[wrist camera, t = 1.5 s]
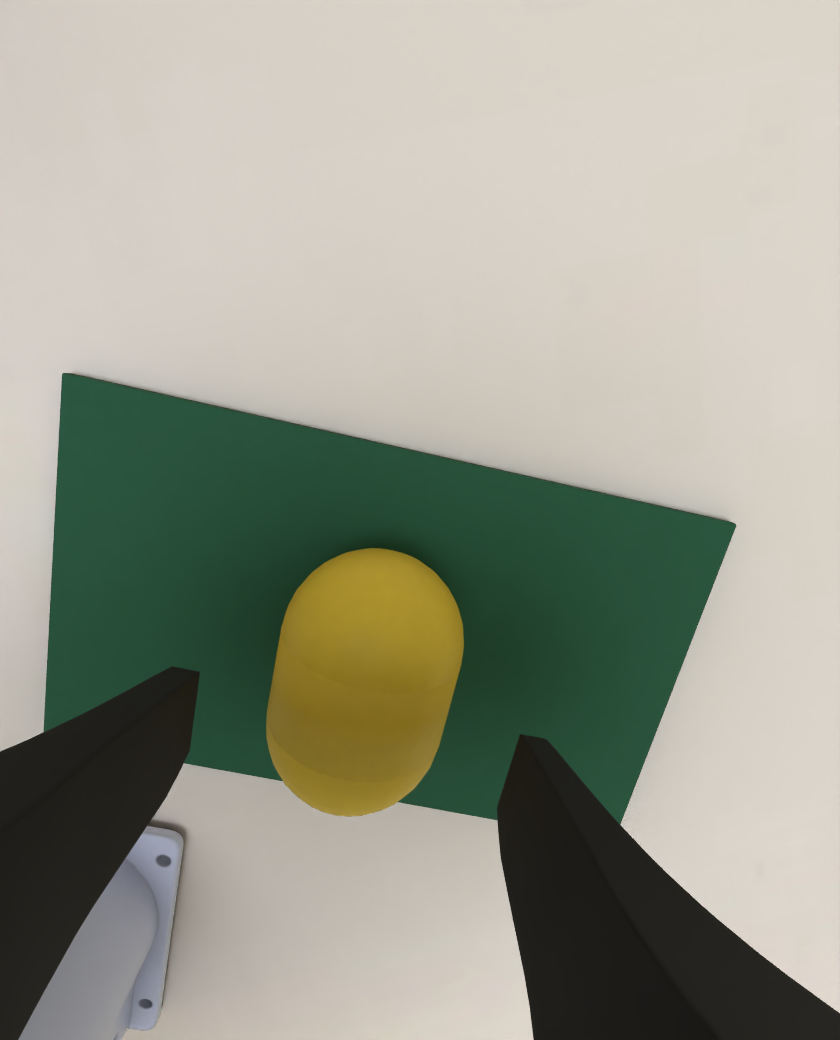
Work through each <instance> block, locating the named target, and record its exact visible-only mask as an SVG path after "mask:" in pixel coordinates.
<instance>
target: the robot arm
mask: <svg viewBox="0 0 840 1040" xmlns="http://www.w3.org/2000/svg"><path fill="white" fill-rule="evenodd" d="M199 677H200V672H199V671H194V670H189V669H184V668H178V667H173V666H172V667H170V668H168V669H166V670H164V671H162V672H160V673H158V674H156V675H154V676H152V677H151V678H149V679H147V680H145V681H143V682H141V683H140V684H138V685H136V686H134V687H132V688H131V689H129V690H127V691H125V692H123V693H121V694H119V695H118V696H116V697H114V698H112V699H110V700H108V701H106V702H104V703H102V704H100V705H99V706H97V707H95V708H93V709H91V710H89V711H87V712H85V713H83V714H81V715H79V716H77V717H75V718H73V719H71V720H69V721H66V722H64V723H62V724H60V725H58V726H56V727H54V728H52V729H50V730H48V731H46V732H43V733H41V734H39V735H37V736H35V737H33V738H31V739H29V740H26V741H24V742H22V743H19V744H17V745H15V746H12V747H10V748H8V749H5V750H3V751H1V752H0V1040H122V1039H123V1037H124V1034H125V1032H126V1030H127V1028H129V1029H136V1030H150V1029H152V1028H153V1027H154V1026H155V1025H156V1023H157V1020H158V1018H159V1016H160V1012H161V1005H162V998H163V990H164V983H165V976H166V969H167V961H168V954H169V947H170V939H171V932H172V925H173V918H174V910H175V903H176V896H177V888H178V881H179V874H180V867H181V859H182V852H183V845H184V842H183V838H182V837H181V835H180V834H179V833H178V832H176V831H173V830H169V829H163V828H157V827H152V826H147V825H148V824H149V822H150V821H151V819H152V818H153V816H154V815H155V813H156V812H157V810H158V809H159V807H160V806H161V804H162V803H163V801H164V800H165V798H166V796H167V795H168V793H169V791H170V789H171V787H172V785H173V783H174V781H175V779H176V777H177V776H178V774H179V772H180V770H181V768H182V766H183V764H184V762H185V760H186V758H187V756H188V754H189V752H190V745H191V738H192V730H193V722H194V715H195V707H196V700H197V692H198V684H199ZM497 818H498V832H499V843H500V854H501V860H502V866H503V871H504V876H505V881H506V886H507V892H508V897H509V902H510V906H511V911H512V916H513V921H514V926H515V931H516V936H517V941H518V946H519V951H520V956H521V960H522V965H523V970H524V975H525V981H526V987H527V993H528V999H529V1005H530V1012H531V1021H532V1029H533V1038H534V1040H840V1013H839V1012H837V1011H836V1010H834V1009H833V1008H831V1007H830V1006H829V1005H827V1004H826V1003H825V1002H823V1001H822V1000H820V999H819V998H818V997H816V996H815V995H814V994H812V993H811V992H810V991H808V990H807V989H805V988H804V987H803V986H801V985H800V984H799V983H797V982H796V981H794V980H793V979H792V978H790V977H789V976H788V975H786V974H785V973H784V972H782V971H781V970H780V969H779V968H777V967H776V966H775V965H773V964H772V963H771V962H769V961H768V960H767V959H766V958H764V957H763V956H762V955H760V954H759V953H758V952H757V951H755V950H754V949H753V948H752V947H750V946H749V945H748V944H747V943H746V942H744V941H743V940H742V939H741V938H740V937H738V936H737V935H736V934H735V933H734V932H732V931H731V930H730V929H729V928H727V927H726V926H725V925H724V924H723V923H721V922H720V921H719V920H718V919H717V918H715V917H714V916H713V915H712V914H711V913H710V912H709V911H707V910H706V909H705V908H704V907H703V906H702V905H701V904H699V903H698V902H697V901H696V900H695V899H694V898H693V897H692V896H691V895H690V894H689V893H688V892H686V891H685V890H684V889H683V888H682V887H681V886H680V885H679V884H678V883H677V882H676V881H675V880H674V879H673V878H671V877H670V876H669V875H668V874H667V873H666V872H665V871H664V870H663V869H662V868H661V867H660V866H659V865H658V864H657V863H656V862H655V861H654V860H653V859H652V858H651V857H650V856H649V855H648V854H647V853H646V852H645V851H644V850H643V849H642V848H641V847H640V845H639V844H638V843H637V842H636V841H635V840H634V839H633V838H632V837H631V836H630V835H629V834H628V833H627V832H626V831H625V830H624V828H623V827H622V826H621V825H620V824H619V823H618V822H617V821H616V820H615V819H614V817H613V816H612V815H611V814H610V813H609V812H608V811H607V809H606V808H605V807H604V806H603V805H602V804H601V803H600V801H599V800H598V799H597V798H596V797H595V796H594V794H593V793H592V792H591V791H590V790H589V788H588V787H587V786H586V785H585V784H584V783H583V781H582V780H581V779H580V778H579V777H578V775H577V774H576V773H575V772H574V771H573V769H572V768H571V767H570V766H569V765H568V763H567V762H566V761H565V760H564V759H563V757H562V756H561V755H560V754H559V753H558V751H557V750H556V749H555V748H554V747H553V746H552V745H551V743H550V742H549V741H548V740H547V739H544V738H539V737H534V736H529V735H524V734H520V736H519V739H518V742H517V745H516V748H515V752H514V755H513V758H512V761H511V764H510V768H509V771H508V774H507V777H506V780H505V783H504V787H503V790H502V793H501V796H500V799H499V802H498V806H497ZM164 855H166V856H164ZM167 856H168V857H167Z"/></svg>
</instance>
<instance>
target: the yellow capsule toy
mask: <svg viewBox="0 0 840 1040" xmlns="http://www.w3.org/2000/svg"><path fill="white" fill-rule="evenodd" d="M463 650H464V635H463V623H462V619H461V616H460V612H459V608H458V606H457V603H456V601H455V599H454V597H453V596H452V594H451V592H450V590H449V588H448V587H447V586H446V584H445V583H444V582H443V581H442V580H441V579H440V577H439V576H438V575H437V574H436V573H435V572H434V571H433V570H432V569H431V568H429V567H428V566H426V565H425V564H423V563H422V562H421V561H419V560H418V559H416V558H414V557H412V556H409V555H407V554H404V553H401V552H397V551H393V550H388V549H380V548H367V549H361V550H355V551H350V552H347V553H344V554H341V555H339V556H337V557H335V558H333V559H330V560H329V561H327V562H325V563H324V564H322V565H321V566H320V567H318V568H317V569H316V570H314V571H313V572H312V573H311V574H310V575H309V576H308V577H307V578H306V580H305V581H304V582H303V583H302V584H301V585H300V587H299V588H298V589H297V590H296V592H295V594H294V596H293V597H292V599H291V601H290V603H289V605H288V608H287V611H286V614H285V617H284V621H283V624H282V627H281V633H280V638H279V644H278V650H277V656H276V662H275V667H274V673H273V679H272V685H271V691H270V696H269V702H268V708H267V720H266V737H267V742H268V747H269V752H270V755H271V758H272V762H273V764H274V766H275V768H276V770H277V772H278V773H279V775H280V777H281V778H282V780H283V782H284V783H285V785H286V786H287V787H288V788H289V789H290V790H291V791H292V792H293V793H294V794H295V795H296V796H297V797H299V798H300V799H301V800H302V801H304V802H305V803H307V804H308V805H310V806H311V807H313V808H316V809H318V810H320V811H322V812H325V813H329V814H333V815H338V816H362V815H366V814H370V813H374V812H378V811H381V810H383V809H385V808H388V807H390V806H392V805H394V804H395V803H397V802H398V801H399V800H401V799H402V798H403V797H405V796H406V795H407V794H408V793H410V792H411V791H412V790H413V789H414V788H415V787H416V786H417V785H418V783H419V782H420V781H421V780H422V778H423V777H424V775H425V774H426V773H427V771H428V770H429V768H430V767H431V764H432V762H433V759H434V757H435V754H436V752H437V750H438V748H439V745H440V741H441V737H442V733H443V730H444V726H445V722H446V719H447V715H448V711H449V708H450V704H451V700H452V697H453V693H454V689H455V686H456V682H457V678H458V675H459V671H460V667H461V663H462V656H463Z"/></svg>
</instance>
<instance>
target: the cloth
mask: <svg viewBox="0 0 840 1040" xmlns="http://www.w3.org/2000/svg"><path fill="white" fill-rule="evenodd" d="M735 528H736V524H734V523H732V522H729V521H725V520H721V519H716V518H712V517H708V516H703V515H699V514H694V513H690V512H685V511H681V510H676V509H672V508H667V507H663V506H659V505H654V504H650V503H645V502H641V501H636V500H632V499H627V498H623V497H619V496H614V495H610V494H605V493H601V492H596V491H592V490H587V489H583V488H579V487H574V486H570V485H565V484H561V483H556V482H552V481H547V480H543V479H539V478H534V477H530V476H525V475H521V474H516V473H512V472H507V471H503V470H498V469H494V468H490V467H485V466H481V465H476V464H472V463H467V462H463V461H458V460H454V459H450V458H445V457H441V456H436V455H432V454H427V453H423V452H418V451H414V450H410V449H405V448H401V447H396V446H392V445H387V444H383V443H378V442H374V441H370V440H365V439H361V438H356V437H352V436H347V435H343V434H338V433H334V432H329V431H325V430H321V429H316V428H312V427H307V426H303V425H298V424H294V423H289V422H285V421H281V420H276V419H272V418H267V417H263V416H258V415H254V414H249V413H245V412H241V411H236V410H232V409H227V408H223V407H218V406H214V405H209V404H205V403H201V402H196V401H192V400H187V399H183V398H178V397H174V396H169V395H165V394H160V393H156V392H152V391H147V390H143V389H138V388H134V387H129V386H125V385H120V384H116V383H112V382H107V381H103V380H98V379H94V378H89V377H85V376H80V375H76V374H71V373H63V374H62V389H61V408H60V427H59V447H58V466H57V485H56V505H55V524H54V543H53V562H52V582H51V601H50V620H49V640H48V659H47V678H46V697H45V717H44V732H46V731H48V730H50V729H52V728H54V727H56V726H58V725H60V724H62V723H64V722H66V721H69V720H71V719H73V718H75V717H77V716H79V715H81V714H83V713H85V712H87V711H89V710H91V709H93V708H95V707H97V706H99V705H100V704H102V703H104V702H106V701H108V700H110V699H112V698H114V697H116V696H118V695H119V694H121V693H123V692H125V691H127V690H129V689H131V688H132V687H134V686H136V685H138V684H140V683H141V682H143V681H145V680H147V679H149V678H151V677H152V676H154V675H156V674H158V673H160V672H162V671H164V670H166V669H168V668H170V667H172V666H173V667H178V668H184V669H189V670H194V671H199V672H200V677H199V684H198V692H197V700H196V707H195V715H194V722H193V730H192V738H191V745H190V752H189V754H188V756H187V758H186V760H185V762H184V763H186V764H192V765H197V766H203V767H208V768H214V769H219V770H225V771H230V772H236V773H241V774H247V775H252V776H258V777H263V778H269V779H274V780H280V781H283V780H282V778H281V777H280V775H279V773H278V772H277V770H276V768H275V766H274V764H273V762H272V758H271V755H270V752H269V747H268V742H267V737H266V720H267V708H268V702H269V696H270V691H271V685H272V679H273V673H274V667H275V662H276V656H277V650H278V644H279V638H280V633H281V627H282V624H283V621H284V617H285V614H286V611H287V608H288V605H289V603H290V601H291V599H292V597H293V596H294V594H295V592H296V590H297V589H298V588H299V587H300V585H301V584H302V583H303V582H304V581H305V580H306V578H307V577H308V576H309V575H310V574H311V573H312V572H313V571H314V570H316V569H317V568H318V567H320V566H321V565H322V564H324V563H325V562H327V561H329V560H330V559H333V558H335V557H337V556H339V555H341V554H344V553H347V552H350V551H355V550H361V549H367V548H380V549H388V550H393V551H397V552H401V553H404V554H407V555H409V556H412V557H414V558H416V559H418V560H419V561H421V562H422V563H423V564H425V565H426V566H428V567H429V568H431V569H432V570H433V571H434V572H435V573H436V574H437V575H438V576H439V577H440V579H441V580H442V581H443V582H444V583H445V584H446V586H447V587H448V588H449V590H450V592H451V594H452V596H453V597H454V599H455V601H456V603H457V606H458V608H459V612H460V616H461V619H462V623H463V635H464V650H463V656H462V663H461V667H460V671H459V675H458V678H457V682H456V686H455V689H454V693H453V697H452V700H451V704H450V708H449V711H448V715H447V719H446V722H445V726H444V730H443V733H442V737H441V741H440V745H439V748H438V750H437V752H436V754H435V757H434V759H433V762H432V764H431V767H430V768H429V770H428V771H427V773H426V774H425V775H424V777H423V778H422V780H421V781H420V782H419V783H418V785H417V786H416V787H415V788H414V789H413V790H412V791H411V792H410V793H408V794H407V795H406V796H405V797H403V798H402V799H401V800H399V801H398V802H401V803H406V804H412V805H417V806H423V807H428V808H434V809H439V810H445V811H450V812H456V813H461V814H467V815H472V816H477V817H483V818H488V819H494V820H498V818H497V806H498V802H499V799H500V796H501V793H502V790H503V787H504V783H505V780H506V777H507V774H508V771H509V768H510V764H511V761H512V758H513V755H514V752H515V748H516V745H517V742H518V739H519V736H520V734H524V735H529V736H534V737H539V738H544V739H547V740H548V741H549V742H550V743H551V745H552V746H553V747H554V748H555V749H556V750H557V751H558V753H559V754H560V755H561V756H562V757H563V759H564V760H565V761H566V762H567V763H568V765H569V766H570V767H571V768H572V769H573V771H574V772H575V773H576V774H577V775H578V777H579V778H580V779H581V780H582V781H583V783H584V784H585V785H586V786H587V787H588V788H589V790H590V791H591V792H592V793H593V794H594V796H595V797H596V798H597V799H598V800H599V801H600V803H601V804H602V805H603V806H604V807H605V808H606V809H607V811H608V812H609V813H610V814H611V815H612V816H613V817H614V819H615V820H616V821H617V822H618V823H619V824H621V821H622V818H623V816H624V813H625V811H626V808H627V806H628V803H629V800H630V798H631V795H632V793H633V790H634V787H635V785H636V782H637V780H638V777H639V775H640V772H641V769H642V767H643V764H644V762H645V759H646V757H647V754H648V751H649V749H650V746H651V744H652V741H653V739H654V736H655V733H656V731H657V728H658V726H659V723H660V721H661V718H662V715H663V713H664V710H665V708H666V705H667V703H668V700H669V697H670V695H671V692H672V690H673V687H674V685H675V682H676V679H677V677H678V674H679V672H680V669H681V667H682V664H683V661H684V659H685V656H686V654H687V651H688V649H689V646H690V643H691V641H692V638H693V636H694V633H695V631H696V628H697V625H698V623H699V620H700V618H701V615H702V612H703V610H704V607H705V605H706V602H707V600H708V597H709V594H710V592H711V589H712V587H713V584H714V582H715V579H716V576H717V574H718V571H719V569H720V566H721V564H722V561H723V558H724V556H725V553H726V551H727V548H728V546H729V543H730V540H731V538H732V535H733V533H734V530H735Z"/></svg>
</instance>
